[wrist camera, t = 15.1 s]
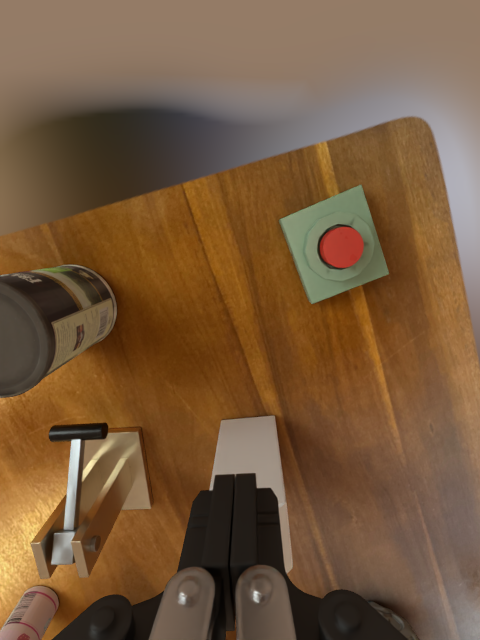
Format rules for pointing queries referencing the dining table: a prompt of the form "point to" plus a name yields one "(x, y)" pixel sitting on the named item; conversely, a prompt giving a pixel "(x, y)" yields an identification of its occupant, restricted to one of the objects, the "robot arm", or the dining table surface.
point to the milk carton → (255, 463)
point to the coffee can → (49, 322)
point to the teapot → (396, 621)
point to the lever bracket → (99, 498)
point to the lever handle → (73, 483)
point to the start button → (341, 247)
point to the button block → (307, 235)
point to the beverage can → (31, 615)
